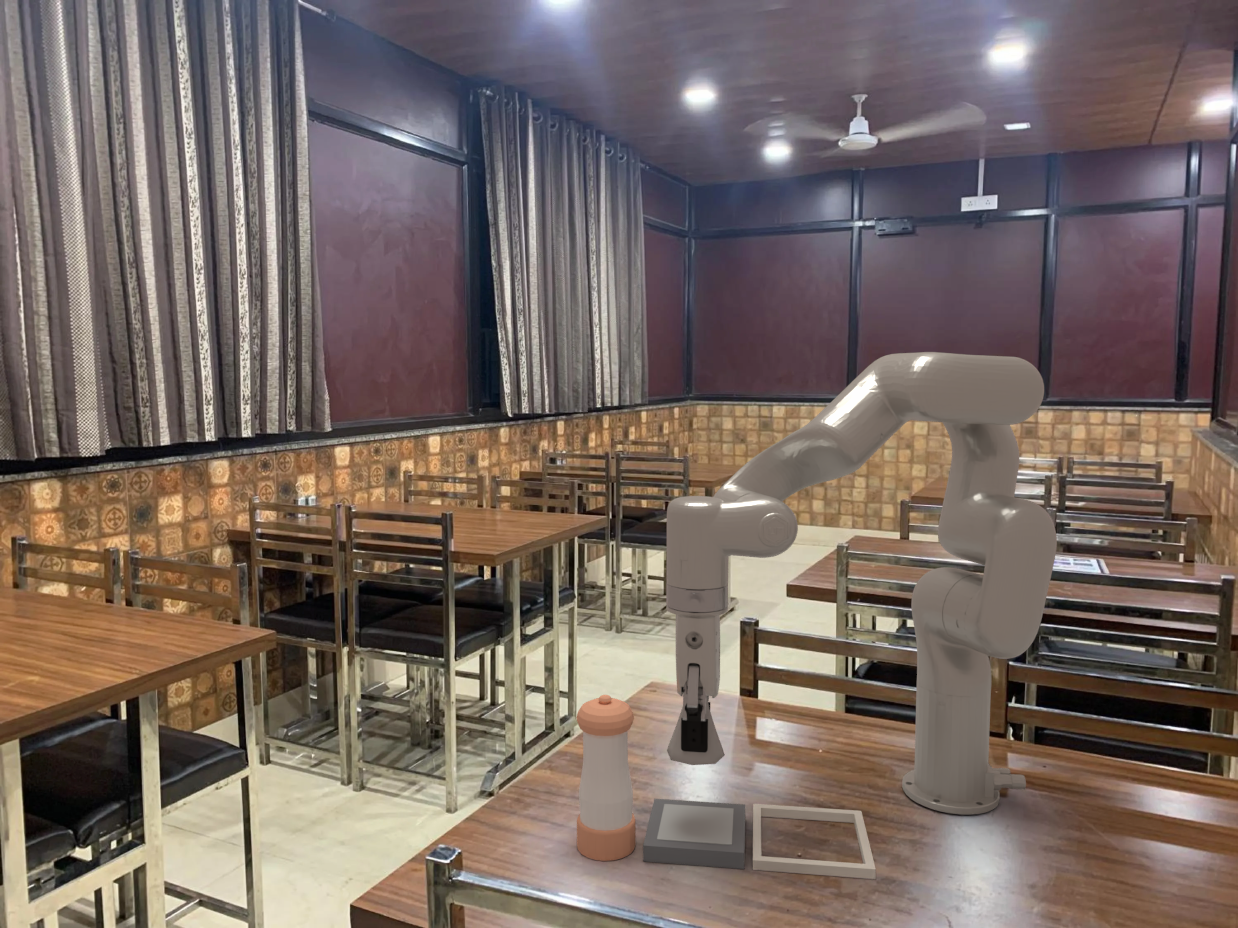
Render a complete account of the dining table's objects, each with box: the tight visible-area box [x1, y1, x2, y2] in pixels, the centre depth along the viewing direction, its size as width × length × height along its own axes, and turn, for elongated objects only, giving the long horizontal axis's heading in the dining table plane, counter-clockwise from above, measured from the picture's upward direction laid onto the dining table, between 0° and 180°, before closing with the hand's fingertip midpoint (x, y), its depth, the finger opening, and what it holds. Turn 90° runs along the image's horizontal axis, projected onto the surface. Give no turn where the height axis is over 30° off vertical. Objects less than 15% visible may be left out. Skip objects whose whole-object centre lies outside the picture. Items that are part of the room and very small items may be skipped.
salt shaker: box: [576, 694, 637, 862], centre depth 108 cm, size 7×7×19 cm
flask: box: [666, 673, 726, 766], centre depth 109 cm, size 7×7×10 cm
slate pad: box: [642, 798, 746, 870], centre depth 111 cm, size 12×12×2 cm
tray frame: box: [752, 803, 877, 880], centre depth 109 cm, size 14×14×1 cm
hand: (695, 739), depth 109 cm, fingers closed on flask, 4 cm apart
